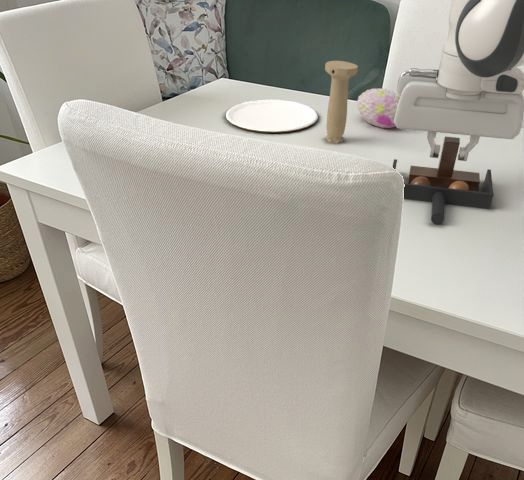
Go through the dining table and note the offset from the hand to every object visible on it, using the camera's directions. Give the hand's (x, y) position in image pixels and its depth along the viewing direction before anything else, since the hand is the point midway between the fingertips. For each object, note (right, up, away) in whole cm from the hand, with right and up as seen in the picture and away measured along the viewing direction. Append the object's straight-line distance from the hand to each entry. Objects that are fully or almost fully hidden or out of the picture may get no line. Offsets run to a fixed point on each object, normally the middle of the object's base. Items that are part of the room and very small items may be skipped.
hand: (447, 158), depth 99 cm
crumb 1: (-5, -5, 0) cm, 7 cm away
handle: (-17, +10, +21) cm, 28 cm away
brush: (0, -4, +4) cm, 6 cm away
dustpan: (-2, -8, 0) cm, 8 cm away
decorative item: (-6, +17, +29) cm, 34 cm away
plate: (-30, +19, +31) cm, 47 cm away
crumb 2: (+2, -6, -1) cm, 6 cm away
